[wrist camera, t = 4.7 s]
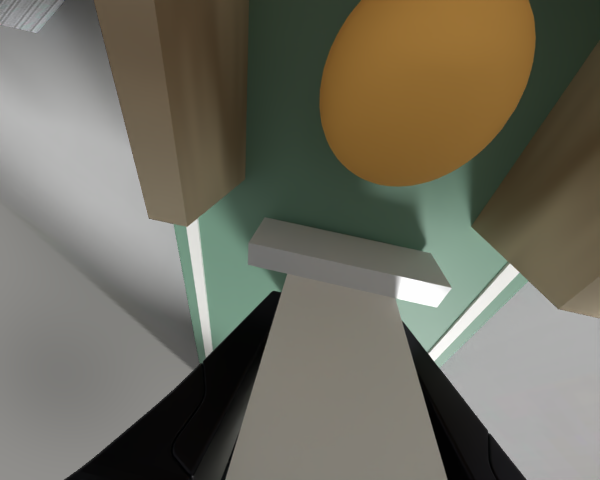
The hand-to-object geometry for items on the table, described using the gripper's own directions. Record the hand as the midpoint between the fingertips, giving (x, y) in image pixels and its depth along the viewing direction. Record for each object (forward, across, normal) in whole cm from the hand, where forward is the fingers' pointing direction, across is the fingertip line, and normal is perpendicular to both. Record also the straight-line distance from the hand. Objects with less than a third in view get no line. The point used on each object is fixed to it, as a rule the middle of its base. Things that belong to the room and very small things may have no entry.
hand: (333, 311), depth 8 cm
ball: (+1, 0, -7) cm, 7 cm away
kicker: (+2, 0, +1) cm, 2 cm away
